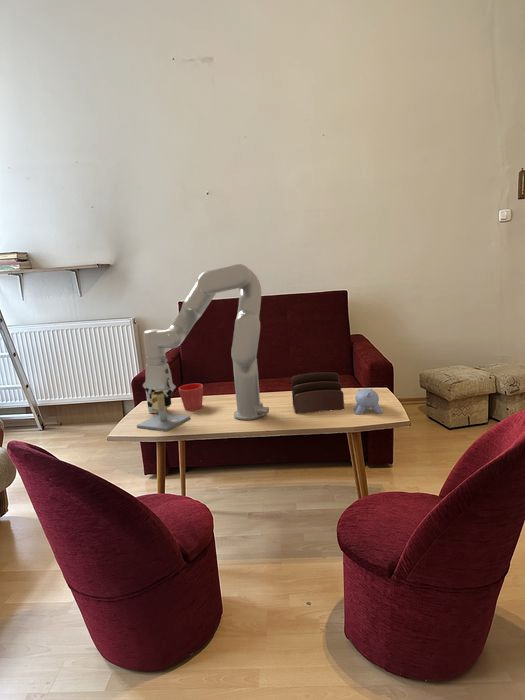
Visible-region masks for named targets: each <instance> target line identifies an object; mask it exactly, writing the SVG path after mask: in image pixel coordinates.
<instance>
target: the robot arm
mask: <svg viewBox="0 0 525 700" xmlns="http://www.w3.org/2000/svg"><path fill="white" fill-rule="evenodd" d="M236 289H238V291H239V296H238V297H239V298H238V307H237V314H236V318H235V320H234V330H233V336H232V345H231V349H230V350H231V351H230V352H231V353H230V354H231V359H232V366H233V369H232V370H233V377H234V389H235V400H236V410H235V411H234V413H233V418H234V419H237V420H242V421H247V420H248V421H250V420H251V421H252V420H256V419H259V418H262V417H263V416H265V414H269V412H270V407H269V406H264V405H263V404H264V403H263V402H261V397H260V384H259V370H258V359H257V355H258V349H259V342H260V341H259V340H260V335H261V334H260V333H261V321H260V312H261V303H262V286H261V283H260V280H259V278H258V276H257V274H255V273H254V271H252V269H250V268H249V267H248V266H246V265H244V264H240V263H238V264H237V263H236V264H233V265H229V266H223V267H220V268H217V269H212V270H211V269H210V270H205V271H203V272H201V273H200V275H199V276H198V278H197V281H196V282H195V283H194V286H193V287H192V289H191V290H190V292H189V293H188V294H187V296H186V298H185V299H184V301H183V302H182V305H181V309H180V311H179V312H178V314H177V315H176V318H174V320H173V322H172V324H171V325H170V326H169V328H168V329H163V330H162V329H160V328H157V329H156V328H155V329H147V330H144V332H143V335H142V336H143V343H144V344H143V345H144V353H145V362H146V364H145V373H144V374H145V381H144V382H143V384H142V387H143V388H144V390H145V392H146V391H147V393H148V395H150V399H151V398H152V397H151V393H152V392H154V391H155V390H163V392H164V394H165V397H164V401H165V406H166V407H167V406H169V405H170V406H171V405H172V398H171V396H172V395H173V393H174V391H175V390H176V388H177V386H176V385H175V384H174V383H173V378H172V371H171V369H170V365H169V363H168V358H167V357H166V349H176V348H178V347H180V345H181V344H182V343H183V342H184V341H185V339H186V337H187V336H188V335H189V333H190V331H192V328H193V327H194V325H195V324H196V323H197V321H198V320H199V319H200V318H201V317H202V315H203V314H204V312H205V311H206V309H207V308H208V306H209V305H210V303H211V302H212V300H213V299H214V297H215V296H216V294H217V293H218V294H219V293H223V292H227V291H231V290H236ZM166 390H167V391H166ZM150 405H152V403H150Z"/></svg>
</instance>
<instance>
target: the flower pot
mask: <svg viewBox="0 0 525 700" xmlns="http://www.w3.org/2000/svg"><path fill="white" fill-rule="evenodd" d="M178 392H179V395H180V399H181V402H182V404H183V408H184V410H185V411H196V410H199V409H201V408H202V407H203V398H204V397H203V395H204V394H203V393H204V385H203V384H202V383H187V384H183V385H181V386H179V387H178Z"/></svg>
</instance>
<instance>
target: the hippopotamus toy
mask: <svg viewBox="0 0 525 700" xmlns="http://www.w3.org/2000/svg"><path fill="white" fill-rule="evenodd" d="M354 397H355V398H354V399H355V402H356V404H355V406H354V407H353V411H354V410H355V411H354V413H355V415H363V414H364V413H365V411H366V410H367V409H369V408H371V409H372V411H373V412H374V413H375V414H382V413H384V411H383V409H382V407H381V405H380V403H379V401H380V396H379V394H378V393H377V392H376V391H375V390H374V389H373V388H365V387H364V388H362V389H358V390H357V393H356V394H355V396H354Z"/></svg>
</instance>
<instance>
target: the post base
mask: <svg viewBox="0 0 525 700" xmlns="http://www.w3.org/2000/svg"><path fill="white" fill-rule="evenodd" d="M189 418H190V419H191V416H190V415H185V414H184V415H183V414H174V413H173V414H172V413H167V410H166V409H160V410H159V413H158V414H157V415H156V414H155V415H154V416H152V417H150V418H149V419H146V420H144V421H143V422H141V423H139V424H136V428H137V427H139V428H138V429H144V428H146V429H147V430H153V429H155V430H156V431H161V430H163V432H168V431H170V430H172V429H174V428H175V427H177V426H179V425H181V424H182V422H183V423H184V421H185V422H186V421H189V420H190V419H189ZM180 423H181V424H180ZM178 424H179V425H178ZM173 427H174V428H173ZM171 428H172V429H171ZM146 429H145V430H146ZM155 430H154V431H155Z"/></svg>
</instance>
